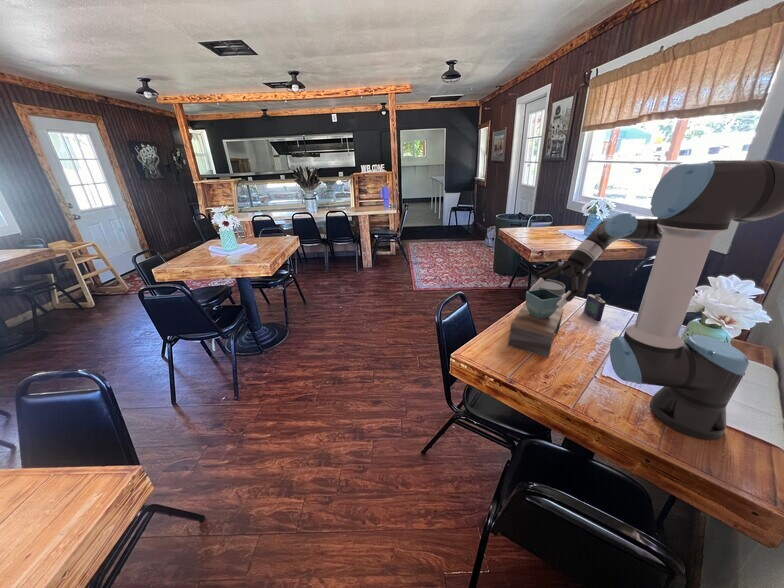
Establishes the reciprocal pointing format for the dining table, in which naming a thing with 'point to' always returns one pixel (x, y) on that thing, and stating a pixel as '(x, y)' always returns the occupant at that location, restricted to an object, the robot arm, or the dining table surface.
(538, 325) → the grey wooden block
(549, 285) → the reusable coffee cup
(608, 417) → the dining table surface
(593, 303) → the flask
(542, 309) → the flower pot
